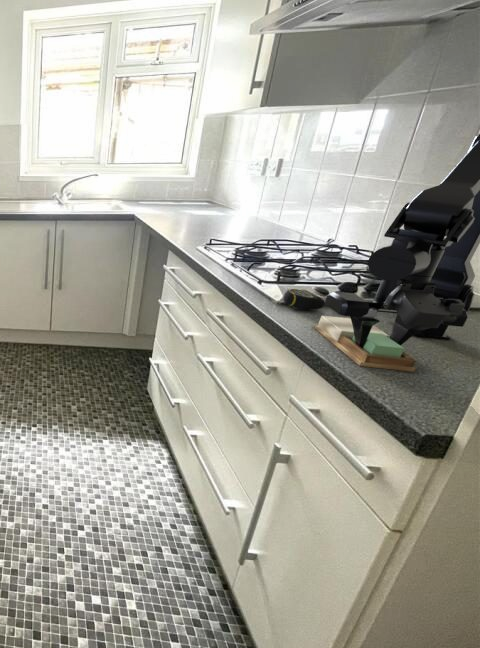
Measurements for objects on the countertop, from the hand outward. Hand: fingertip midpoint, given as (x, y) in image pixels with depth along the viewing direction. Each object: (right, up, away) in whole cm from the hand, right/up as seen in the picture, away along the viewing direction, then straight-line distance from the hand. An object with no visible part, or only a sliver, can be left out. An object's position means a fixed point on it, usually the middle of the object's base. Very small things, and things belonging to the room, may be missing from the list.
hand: (374, 349), depth 79 cm
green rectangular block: (0, -1, 0) cm, 1 cm away
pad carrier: (+1, 0, +4) cm, 4 cm away
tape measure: (+4, +8, +23) cm, 25 cm away
